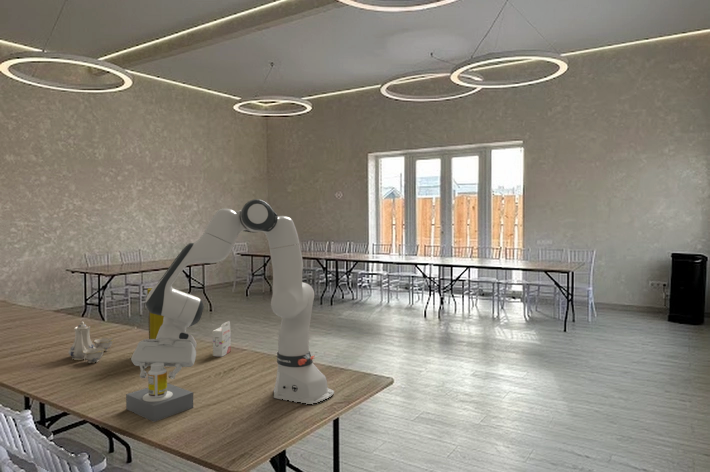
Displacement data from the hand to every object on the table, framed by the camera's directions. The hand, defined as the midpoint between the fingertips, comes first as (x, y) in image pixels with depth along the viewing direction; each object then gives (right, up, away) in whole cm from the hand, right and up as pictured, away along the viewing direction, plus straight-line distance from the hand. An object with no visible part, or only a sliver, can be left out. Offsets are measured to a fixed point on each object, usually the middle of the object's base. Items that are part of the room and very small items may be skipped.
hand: (156, 377), depth 151 cm
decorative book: (-24, -9, +61) cm, 66 cm away
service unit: (-1, -11, +4) cm, 12 cm away
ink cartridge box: (+2, -9, +66) cm, 67 cm away
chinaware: (-55, -9, +60) cm, 82 cm away
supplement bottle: (0, -6, +1) cm, 6 cm away
